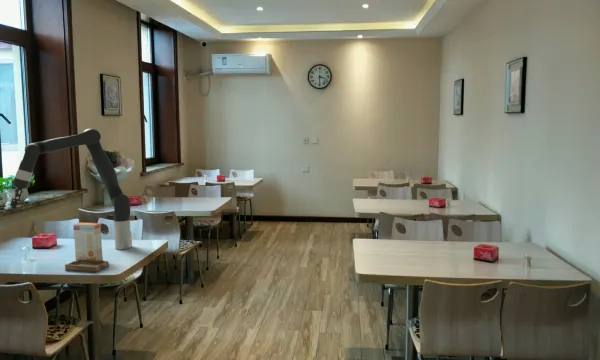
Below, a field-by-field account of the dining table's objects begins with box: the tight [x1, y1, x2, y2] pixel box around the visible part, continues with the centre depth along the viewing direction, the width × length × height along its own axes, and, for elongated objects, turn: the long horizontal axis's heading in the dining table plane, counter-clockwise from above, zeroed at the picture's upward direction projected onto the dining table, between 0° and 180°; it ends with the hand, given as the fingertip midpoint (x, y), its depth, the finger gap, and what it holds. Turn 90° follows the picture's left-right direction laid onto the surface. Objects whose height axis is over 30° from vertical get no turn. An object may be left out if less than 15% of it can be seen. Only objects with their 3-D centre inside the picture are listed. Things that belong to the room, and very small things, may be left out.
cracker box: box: [72, 222, 104, 261], centre depth 280 cm, size 14×6×21 cm, turn 71°
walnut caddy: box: [64, 259, 109, 274], centre depth 265 cm, size 11×19×3 cm, turn 73°
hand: (12, 207), depth 273 cm, fingers open, 8 cm apart
